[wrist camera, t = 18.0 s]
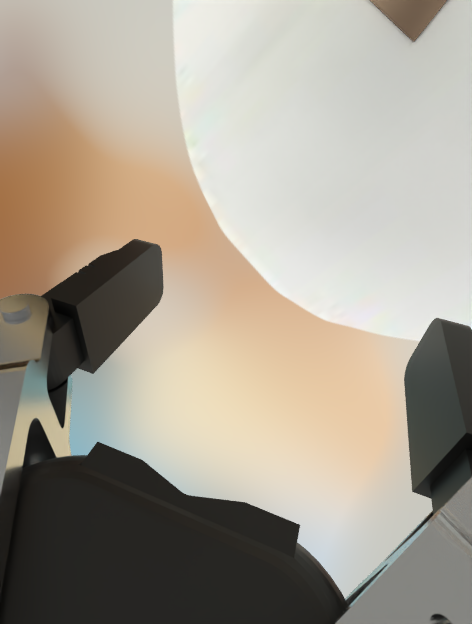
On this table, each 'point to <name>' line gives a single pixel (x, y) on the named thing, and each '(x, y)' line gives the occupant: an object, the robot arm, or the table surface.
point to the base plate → (410, 14)
